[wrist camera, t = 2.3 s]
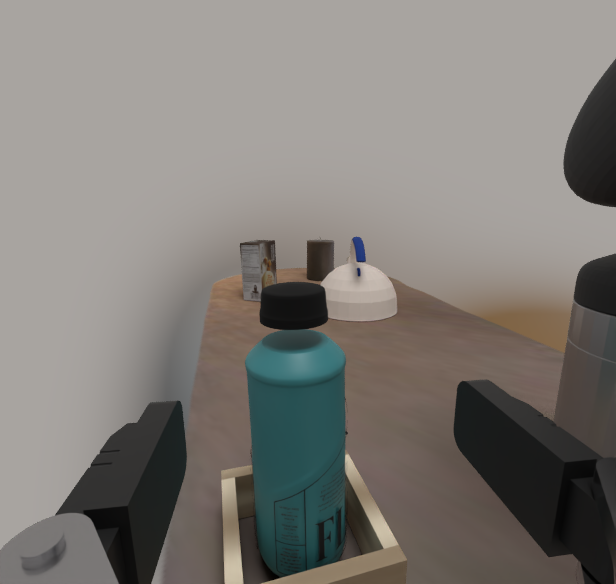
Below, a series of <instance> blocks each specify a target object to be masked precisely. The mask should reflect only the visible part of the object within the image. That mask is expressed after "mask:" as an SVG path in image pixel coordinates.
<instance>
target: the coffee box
mask: <svg viewBox="0 0 616 584" xmlns="http://www.w3.org/2000/svg"><path fill="white" fill-rule="evenodd" d="M240 251H241V265H242V280H243V295H244V300H249V301H261V292H262V289H263V288H265V287H267V286H270V285H273V284H277V280H276V257H275V241H274V240H273V241H268V240H267V241H266V240H257V241H250V242H245V243H240Z"/></svg>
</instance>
